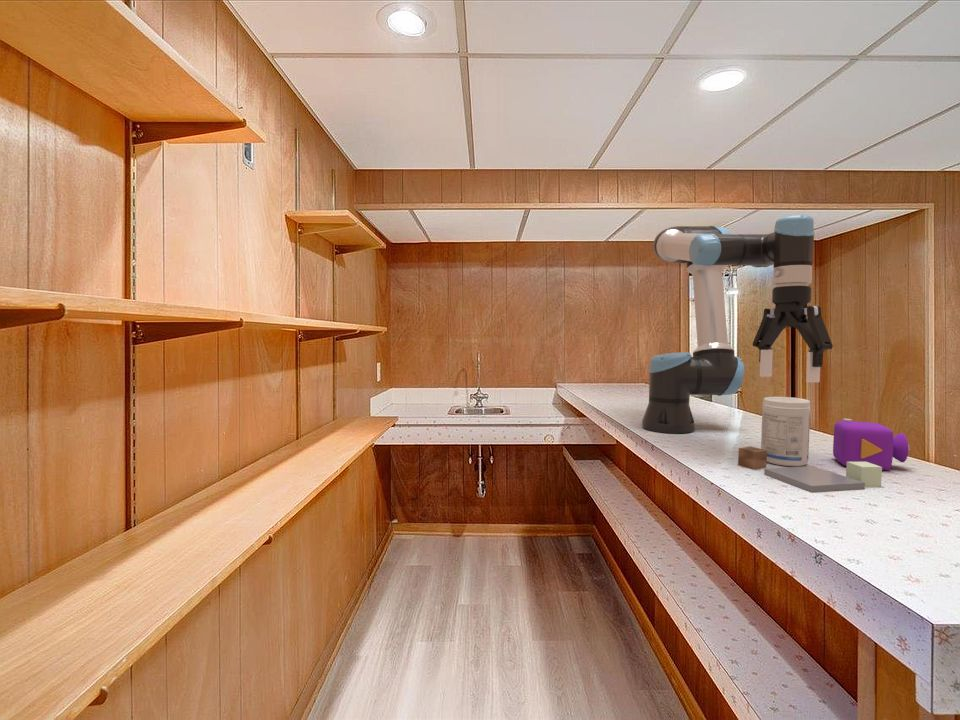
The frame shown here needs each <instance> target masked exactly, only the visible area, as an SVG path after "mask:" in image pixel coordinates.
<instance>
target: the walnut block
mask: <svg viewBox="0 0 960 720" xmlns="http://www.w3.org/2000/svg"><path fill="white" fill-rule="evenodd" d="M737 456H738V458H737V459H738V461H737V466H740V467H744V468H747V469H750V470H753V471H755V470H761V469H767V463H768V462H767V450H764V449H761V447H760V448H759V447H754V446H750V445H749V446H745V447H743V446H742V447H739V448H738V455H737Z"/></svg>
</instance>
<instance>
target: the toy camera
mask: <svg viewBox="0 0 960 720" xmlns="http://www.w3.org/2000/svg"><path fill="white" fill-rule="evenodd" d="M909 452H910V445H909V441H908V438H907V436H906V434H905V433H903V432H901V433H898V434H896V435H895V434H894V433H893V430H892V429H891V428H889V427H887V426H885V425H883V424H880V423H877V422H870V421H869V422H868V421H856V420H855V421H854V420H853V419H851V418H842V420H838V421H836V422H835V423H834V425H833V441H832V454H833V457H834V458H835V460H837V461H838V462H839V463H840V464H841V465H842V466H844V467H847V462H869V463H872V464H875V465H878V466H881V467H882V471H888V470H890V469H891V468H892V466H893V459H895V460H897V461H898V462H900V463H905V461H907V459H908V456H909Z"/></svg>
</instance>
